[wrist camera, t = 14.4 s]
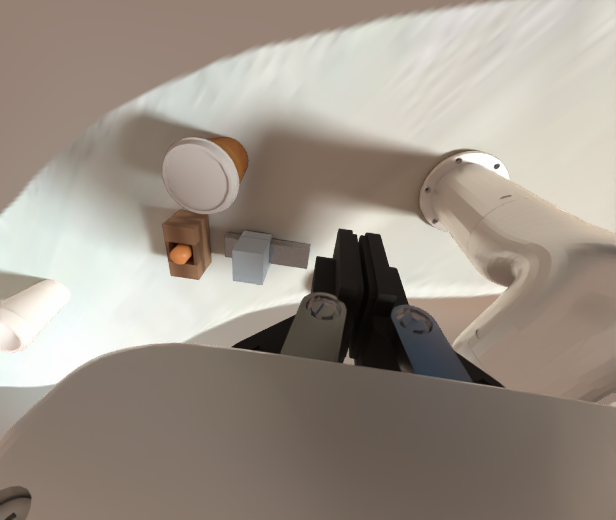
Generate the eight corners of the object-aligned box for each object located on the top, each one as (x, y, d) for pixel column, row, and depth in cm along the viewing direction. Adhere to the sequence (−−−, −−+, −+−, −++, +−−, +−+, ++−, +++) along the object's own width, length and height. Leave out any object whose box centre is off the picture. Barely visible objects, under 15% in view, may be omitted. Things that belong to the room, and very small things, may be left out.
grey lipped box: (271, 234, 51) (263, 254, 45) (270, 263, 54) (262, 285, 48) (243, 230, 51) (232, 249, 45) (243, 259, 54) (232, 281, 48)
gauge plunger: (194, 240, 49) (185, 251, 46) (196, 254, 51) (187, 265, 48) (178, 238, 49) (168, 248, 46) (180, 252, 51) (170, 263, 48)
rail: (310, 244, 52) (309, 249, 50) (307, 262, 54) (306, 268, 52) (228, 232, 52) (224, 237, 50) (228, 251, 54) (225, 256, 52)
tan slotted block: (208, 214, 50) (193, 229, 45) (211, 261, 56) (198, 279, 51) (179, 209, 50) (162, 224, 45) (185, 257, 56) (170, 275, 51)
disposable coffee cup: (268, 177, 46) (249, 204, 36) (217, 195, 48) (186, 226, 38) (241, 114, 42) (210, 125, 31) (186, 139, 44) (141, 156, 34)
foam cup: (42, 304, 66) (-16, 348, 55) (25, 270, 61) (-43, 312, 50) (83, 309, 66) (32, 355, 55) (69, 276, 61) (10, 320, 50)
